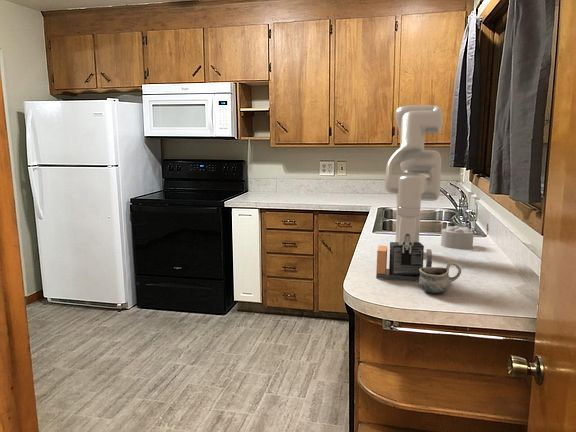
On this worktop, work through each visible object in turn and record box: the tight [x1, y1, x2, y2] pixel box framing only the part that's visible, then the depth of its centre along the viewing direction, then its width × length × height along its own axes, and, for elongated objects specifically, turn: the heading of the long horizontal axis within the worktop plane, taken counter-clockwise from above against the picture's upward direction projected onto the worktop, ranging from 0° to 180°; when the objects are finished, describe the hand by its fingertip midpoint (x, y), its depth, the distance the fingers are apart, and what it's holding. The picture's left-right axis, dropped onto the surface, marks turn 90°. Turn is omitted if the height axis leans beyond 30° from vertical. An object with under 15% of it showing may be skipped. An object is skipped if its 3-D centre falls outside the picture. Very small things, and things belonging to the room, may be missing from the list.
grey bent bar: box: [375, 248, 433, 283], centre depth 165 cm, size 8×18×10 cm, turn 76°
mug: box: [419, 261, 463, 294], centre depth 150 cm, size 10×12×10 cm
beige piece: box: [440, 225, 474, 250], centre depth 212 cm, size 10×13×9 cm
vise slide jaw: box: [376, 245, 388, 274], centre depth 167 cm, size 8×3×8 cm, turn 166°
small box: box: [388, 241, 425, 275], centre depth 165 cm, size 11×6×10 cm, turn 89°
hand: (406, 261), depth 165 cm, fingers open, 9 cm apart
